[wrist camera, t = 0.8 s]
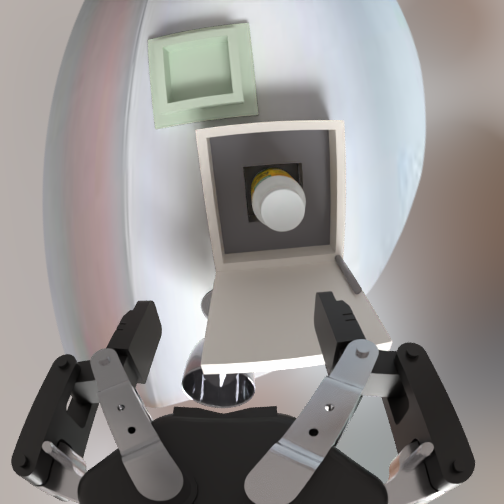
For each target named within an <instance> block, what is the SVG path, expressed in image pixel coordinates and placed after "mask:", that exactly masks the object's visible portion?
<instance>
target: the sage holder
mask: <svg viewBox="0 0 504 504" xmlns="http://www.w3.org/2000/svg"><path fill="white" fill-rule="evenodd" d="M148 56H149V71H150V84H151V95H152V105H153V115H154V123H155V129H161V128H166V127H171V126H177V125H182V124H188V123H194V122H201V121H208V120H215V119H223V118H232V117H241V116H253V115H258V105H257V95H256V85H255V75H254V65H253V55H252V46H251V37H250V28H249V23H241V24H230V25H221V26H213V27H207V28H200V29H194V30H189V31H184V32H179V33H174V34H170V35H166V36H161V37H157V38H154V39H150V40H148Z"/></svg>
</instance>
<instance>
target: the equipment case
mask: <svg viewBox="0 0 504 504" xmlns="http://www.w3.org/2000/svg"><path fill="white" fill-rule="evenodd" d="M195 132H196V140H197V148H198V156H199V164H200V171H201V179H202V186H203V193H204V200H205V207H206V214H207V220H208V227H209V233H210V239H211V245H212V252H213V258H214V263H215V269H216V275H215V280H214V286H213V292H212V297H211V303H210V309H209V315H208V321H207V327H206V333H205V340H204V346H203V352H202V359H201V367H202V370H203V373H204V374H230V373H248V372H261V371H273V370H283V369H291V368H299V367H308V366H315V365H321V364H325V362H324V359H323V355H322V352H321V348H320V345H319V342H318V338H317V335H316V332H315V328H314V309H315V297H316V293H317V292H327V291H332V293H333V295H334V297H335V299H336V301H339V300H343V301H344V302H345V303H347V304H348V305H349V306H350V308H351V309H352V311H353V314H354V315H355V317H356V320H357V321H358V323H359V325H360V328H361V330H362V332H363V334H364V336H365V338H366V340H369V341H371V342H373V343H374V344H375V345H376V346H377V347H378V349H379V350H384V351H389V350H390V347H391V344H392V340H391V338H390V336H389V334H388V333H387V331H386V329H385V327H384V326H383V324H382V322H381V321H380V319H379V317H378V315H377V314H376V312H375V310H374V309H373V307H372V305H371V304H370V302H369V300H368V299H367V297H366V295H365V294H364V292H363V291H362V288H361V287H360V285H359V284H358V282H357V280H356V279H355V277H354V276H353V274H352V273H351V271H350V270H349V268H348V267H347V265H346V263H345V262H344V260H343V254H344V236H345V209H346V155H345V128H344V121H343V120H297V121H274V122H259V123H247V124H236V125H227V126H219V127H211V128H204V129H197V130H195ZM288 163H298V172H299V185H300V186H301V188H302V189H303V191H304V194H305V198H306V205H305V214H304V217H303V219H302V221H301V222H300V224H299V225H298V226H297V227H295V228H294V229H292V230H289V231H283V232H280V231H275V230H273V229H271V228H269V227H268V226H266V225H264V224H263V223H262V222H261V221H259V219H258V218H257V217H256V215H251V216H248V208H247V198H246V188H245V178H244V167H248V166H260V165H273V164H288Z"/></svg>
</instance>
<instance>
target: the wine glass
mask: <svg viewBox="0 0 504 504" xmlns="http://www.w3.org/2000/svg"><path fill="white" fill-rule="evenodd" d="M212 292H213V290H212V291H210V292H209V293H207V294H206V295H205V296H204V298H203V300H202V303H201V308H202V312H203V314H204V315H205V317H206V318H207V319H208V315H209V309H210V303H211V297H212ZM204 340H205V338H203V339H202V340H200V341H199V342H198V343H197V344H196V345H195V347H194V348H193V350H192V352H191V353H190V355H189V358H188V360H187V363H186V366H185V370H184V373H183V379H182V388H183V391H184V392H185V394H186V395H187V396H188V397H189V398H191V399H192V400H194V401H196V402H197V403H200V404H202V405H205V406H209V407H215V408H231V407H236V406H240V405H242V404H244V403H246V402H248V401H249V400H250V399H251V398H252V397H253V395H254V393H255V376H254V372H248V373H230V374H204V373H203V370H202V367H201V359H202V352H203V346H204Z"/></svg>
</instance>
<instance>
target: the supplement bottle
mask: <svg viewBox="0 0 504 504" xmlns="http://www.w3.org/2000/svg"><path fill="white" fill-rule="evenodd" d="M251 200H252V208H253V211H254V213H255V215H256V217H257V218H258V219H259V221H261V222H262V223H263V224H264V225H266V226H268V227H269V228H271V229H273V230H275V231H280V232H283V231H289V230H292V229H294V228H295V227H297V226H298V225H299V224H300V222H301V221H302V219H303V217H304V214H305V205H306V198H305V194H304V191H303V189H302V188H301V186H300V185H299V184H298V183H297V182H296V181H295V180H294V179H293V178H292V177H291V176H290V174H289V173H287V172H286V171H284V170H283V169H280V168H276V167H271V168H266V169H263V170H261V171H260V172H258V173H257V174H256V176H255V177H254V179H253V181H252V183H251Z"/></svg>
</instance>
